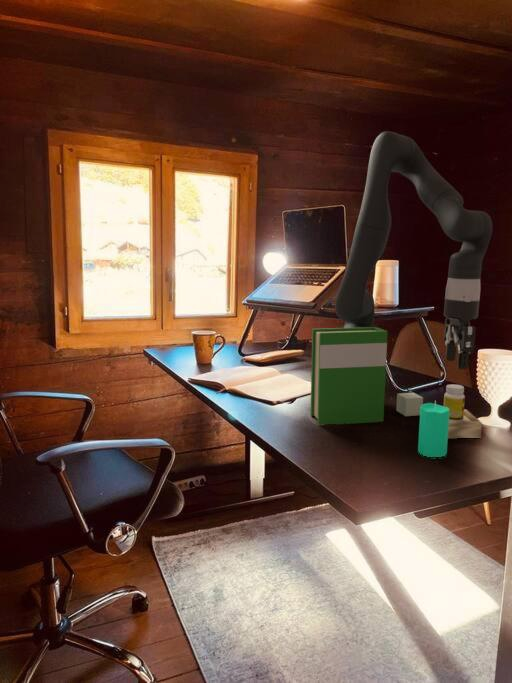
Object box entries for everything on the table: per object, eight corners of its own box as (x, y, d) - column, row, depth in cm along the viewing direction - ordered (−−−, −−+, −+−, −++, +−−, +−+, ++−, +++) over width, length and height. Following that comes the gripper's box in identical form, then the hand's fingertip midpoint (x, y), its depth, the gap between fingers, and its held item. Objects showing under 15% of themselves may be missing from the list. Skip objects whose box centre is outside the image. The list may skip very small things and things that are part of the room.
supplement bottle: (465, 423, 118) (467, 389, 117) (444, 421, 119) (446, 388, 118) (461, 416, 123) (463, 384, 122) (441, 415, 124) (443, 383, 122)
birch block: (437, 438, 117) (438, 422, 116) (425, 423, 127) (426, 408, 126) (480, 438, 116) (482, 422, 116) (465, 424, 126) (466, 409, 125)
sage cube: (405, 416, 133) (406, 398, 132) (396, 410, 138) (397, 393, 137) (422, 415, 134) (423, 397, 133) (412, 409, 139) (413, 392, 138)
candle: (413, 448, 111) (416, 397, 109) (439, 447, 111) (442, 396, 109) (424, 459, 105) (428, 405, 103) (451, 458, 106) (455, 404, 103)
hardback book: (318, 425, 126) (320, 333, 121) (310, 416, 133) (312, 328, 129) (383, 421, 129) (387, 331, 124) (372, 412, 136) (375, 327, 131)
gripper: (436, 294, 123) (431, 357, 126) (456, 300, 109) (449, 371, 112) (467, 295, 122) (461, 358, 125) (490, 301, 108) (483, 372, 111)
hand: (455, 364), depth 118 cm, fingers open, 8 cm apart
